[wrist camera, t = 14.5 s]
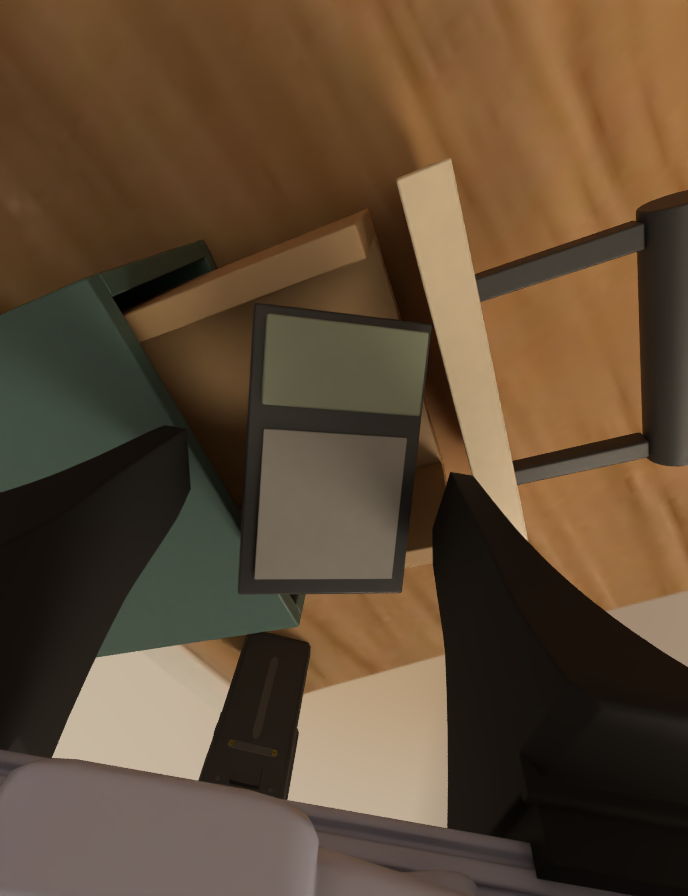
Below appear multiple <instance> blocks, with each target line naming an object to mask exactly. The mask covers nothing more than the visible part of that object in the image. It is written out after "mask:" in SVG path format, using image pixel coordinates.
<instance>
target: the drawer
mask: <svg viewBox="0 0 688 896" xmlns="http://www.w3.org/2000/svg"><path fill="white" fill-rule="evenodd" d="M396 183H397V187H398V191H399V194H400V198H401V202H402V206H403V210H404V214H405V218H406V221H407V225H408V229H409V233H410V237H411V241H412V245H413V248H414V252H415V256H416V260H417V264H418V268H419V272H420V275H421V279H422V283H423V287H424V291H425V295H426V299H427V303H428V306H429V310H430V314H431V318H432V322H433V326H434V330H435V333H436V337H437V341H438V345H439V349H440V353H441V357H442V360H443V364H444V368H445V372H446V376H447V380H448V384H449V387H450V391H451V395H452V399H453V403H454V407H455V411H456V414H457V418H458V422H459V426H460V430H461V434H462V438H463V442H464V445H465V449H466V453H467V457H468V461H469V465H470V469H471V472H472V476H474V477H475V479H476V480H477V481H478V482H479V483H480V485H481V486H482V487H483V488H484V490H485V491H486V492H487V494H488V495H489V496H490V497H491V499H492V500H493V501H494V502H495V504H496V505H497V506H498V507H499V509H500V510H501V511H502V512H503V514H504V515H505V516H506V517H507V518H508V520H509V521H510V522H511V523H512V524H513V525H514V527H515V528H516V529H517V530H518V531H519V532H520V533H521V535H522V536H523V537H524V538H525V539H526V540H527V541H528V536H527V531H526V526H525V521H524V516H523V512H522V507H521V502H520V497H519V492H518V487H517V485H520V484H525V483H530V482H534V481H539V480H544V479H548V478H553V477H558V476H562V475H567V474H572V473H577V472H581V471H586V470H591V469H595V468H600V467H605V466H609V465H614V464H619V463H624V462H628V461H633V460H638V459H642V458H647V459H649V460H650V461H652V462H654V463H657V464H660V465H665V466H685V465H688V190H686V191H682V192H678V193H674V194H671V195H667V196H664V197H661V198H658V199H656V200H653V201H651V202H648V203H646V204H644V205H642V206H641V207H639V208H638V209H637V211H636V221H630V222H627V223H624V224H621V225H618V226H615V227H613V228H610V229H607V230H604V231H601V232H598V233H595V234H592V235H589V236H586V237H583V238H580V239H577V240H574V241H571V242H568V243H565V244H562V245H559V246H557V247H554V248H551V249H548V250H545V251H542V252H539V253H536V254H533V255H530V256H527V257H524V258H521V259H518V260H515V261H512V262H509V263H506V264H504V265H501V266H498V267H495V268H492V269H489V270H486V271H483V272H480V273H477V274H474V269H473V264H472V259H471V254H470V249H469V244H468V239H467V234H466V229H465V224H464V219H463V214H462V209H461V204H460V199H459V194H458V189H457V185H456V180H455V175H454V170H453V165H452V160H451V158H448V159H445V160H442V161H439V162H436V163H433V164H430V165H428V166H425V167H423V168H420V169H418V170H416V171H413V172H411V173H408V174H406V175H404V176H401V177H399V178H397V179H396ZM634 252H637V266H638V299H639V331H640V364H641V397H642V430H643V435H642V434H641V433H634V434H629V435H625V436H621V437H616V438H612V439H607V440H603V441H599V442H594V443H590V444H585V445H581V446H577V447H572V448H568V449H563V450H559V451H554V452H550V453H546V454H541V455H537V456H532V457H528V458H524V459H519V460H515V461H512V457H511V452H510V447H509V442H508V437H507V432H506V427H505V422H504V417H503V412H502V407H501V403H500V398H499V393H498V388H497V383H496V378H495V373H494V368H493V363H492V358H491V353H490V348H489V343H488V338H487V333H486V328H485V323H484V318H483V313H482V308H481V303H480V302H482V301H485V300H488V299H491V298H495V297H498V296H501V295H504V294H507V293H510V292H513V291H516V290H519V289H522V288H526V287H529V286H532V285H535V284H538V283H541V282H544V281H547V280H550V279H554V278H557V277H560V276H563V275H566V274H569V273H572V272H575V271H578V270H581V269H585V268H588V267H591V266H594V265H597V264H600V263H603V262H606V261H609V260H612V259H616V258H619V257H622V256H625V255H628V254H631V253H634ZM255 303H265V304H273V305H281V306H290V307H298V308H306V309H314V310H322V311H330V312H338V313H346V314H354V315H363V316H371V317H379V318H387V319H395V320H401V317H400V314H399V311H398V307H397V304H396V300H395V297H394V293H393V290H392V287H391V283H390V280H389V276H388V273H387V270H386V266H385V263H384V259H383V256H382V252H381V249H380V246H379V242H378V239H377V235H376V232H375V229H374V225H373V222H372V218H371V215H370V212H369V209H365V210H362V211H360V212H357V213H355V214H352V215H350V216H347V217H345V218H342V219H340V220H337V221H335V222H332V223H330V224H327V225H325V226H322V227H320V228H317V229H315V230H312V231H310V232H307V233H305V234H303V235H300V236H298V237H295V238H293V239H290V240H288V241H285V242H283V243H280V244H278V245H275V246H273V247H270V248H268V249H265V250H263V251H260V252H258V253H255V254H253V255H250V256H248V257H245V258H243V259H240V260H238V261H235V262H233V263H230V264H228V265H225V266H223V267H220V268H218V269H216V270H213V271H211V272H208V273H206V274H203V275H201V276H198V277H196V278H193V279H191V280H188V281H186V282H183V283H181V284H178V285H176V286H173V287H171V288H168V289H166V290H163V291H161V292H158V293H156V294H153V295H151V296H148V297H146V298H143V299H141V300H138V301H136V302H133V303H131V304H128V305H126V306H124V307H121V308H119V309H120V311H121V313H122V314H123V316H124V318H125V320H126V321H127V323H128V325H129V326H130V328H131V330H132V331H133V333H134V335H135V336H136V338H137V340H138V341H139V343H140V345H141V346H142V348H143V350H144V351H145V353H146V355H147V356H148V358H149V360H150V361H151V363H152V365H153V366H154V368H155V370H156V371H157V373H158V375H159V376H160V378H161V380H162V382H163V383H164V385H165V387H166V388H167V390H168V392H169V393H170V395H171V397H172V398H173V400H174V402H175V403H176V405H177V407H178V408H179V410H180V412H181V413H182V415H183V417H184V418H185V420H186V422H187V423H188V425H189V427H190V428H191V430H192V432H193V433H194V435H195V437H196V438H197V440H198V442H199V444H200V445H201V447H202V449H203V450H204V452H205V454H206V455H207V457H208V459H209V460H210V462H211V464H212V465H213V467H214V469H215V470H216V472H217V474H218V475H219V477H220V479H221V480H222V482H223V484H224V485H225V487H226V489H227V490H228V492H229V494H230V495H231V497H232V499H233V500H234V502H235V504H236V506H237V507H238V509H239V511H240V512H241V514H242V502H243V484H244V467H245V449H246V432H247V414H248V397H249V379H250V361H251V344H252V326H253V309H254V304H255ZM446 485H447V481H446V475H445V469H444V464H443V461H442V457H441V454H440V451H439V447H438V444H437V440H436V437H435V433H434V430H433V427H432V423H431V420H430V416H429V413H428V410H427V406H426V403H425V399H423V408H422V417H421V426H420V435H419V444H418V453H417V461H416V470H415V479H414V488H413V497H412V506H411V514H410V523H409V532H408V541H407V550H406V559H405V567H404V568H409V567H414V566H420V565H426V564H431V563H433V555H432V528H433V525H434V522H435V519H436V516H437V513H438V510H439V506H440V503H441V500H442V497H443V494H444V491H445V488H446ZM528 542H529V541H528Z"/></svg>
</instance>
